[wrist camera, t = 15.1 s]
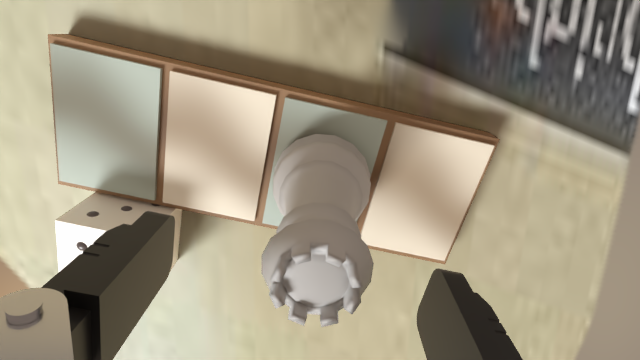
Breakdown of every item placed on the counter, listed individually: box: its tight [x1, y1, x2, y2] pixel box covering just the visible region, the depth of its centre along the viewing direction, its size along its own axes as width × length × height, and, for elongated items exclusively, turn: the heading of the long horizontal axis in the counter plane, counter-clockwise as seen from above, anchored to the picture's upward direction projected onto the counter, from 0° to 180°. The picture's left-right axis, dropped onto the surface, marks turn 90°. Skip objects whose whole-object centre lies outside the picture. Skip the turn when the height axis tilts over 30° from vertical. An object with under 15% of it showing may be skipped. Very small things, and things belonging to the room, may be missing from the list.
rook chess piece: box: [262, 134, 374, 327], centre depth 13 cm, size 4×4×8 cm
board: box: [48, 34, 500, 264], centre depth 17 cm, size 7×20×1 cm, turn 77°
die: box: [55, 192, 182, 272], centre depth 18 cm, size 4×4×4 cm
